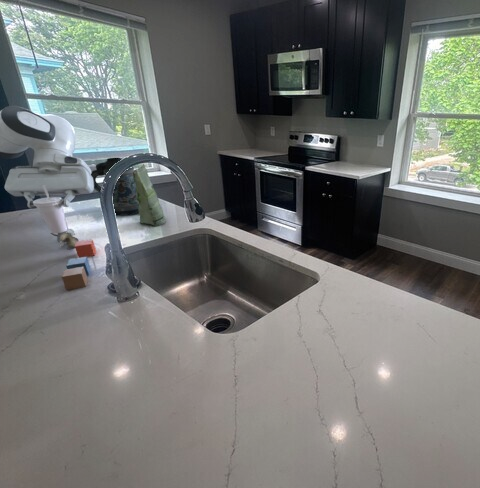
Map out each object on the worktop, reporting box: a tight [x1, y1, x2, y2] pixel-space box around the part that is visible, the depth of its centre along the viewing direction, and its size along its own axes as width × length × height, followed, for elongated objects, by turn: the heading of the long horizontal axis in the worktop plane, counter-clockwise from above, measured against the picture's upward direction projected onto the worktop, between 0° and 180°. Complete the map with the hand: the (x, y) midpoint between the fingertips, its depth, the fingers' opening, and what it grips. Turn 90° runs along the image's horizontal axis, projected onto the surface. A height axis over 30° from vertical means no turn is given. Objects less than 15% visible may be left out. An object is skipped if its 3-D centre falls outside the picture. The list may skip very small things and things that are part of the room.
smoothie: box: [33, 185, 68, 234], centre depth 86 cm, size 6×6×14 cm
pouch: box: [133, 163, 167, 227], centre depth 128 cm, size 11×12×25 cm
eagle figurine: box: [50, 228, 80, 250], centre depth 109 cm, size 8×7×9 cm
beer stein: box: [91, 157, 140, 217], centre depth 139 cm, size 16×19×25 cm
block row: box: [61, 238, 97, 291], centre depth 95 cm, size 4×26×4 cm, turn 29°
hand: (48, 206), depth 85 cm, fingers closed on smoothie, 6 cm apart
